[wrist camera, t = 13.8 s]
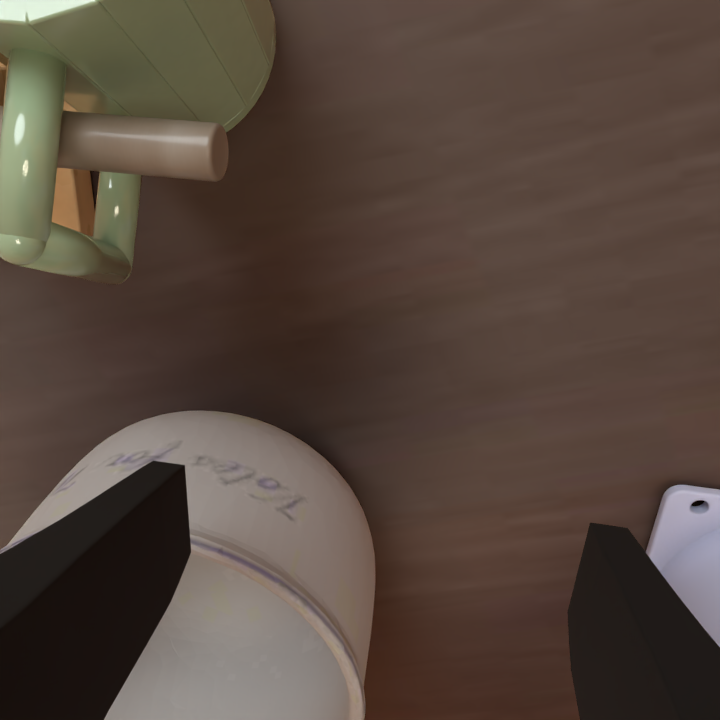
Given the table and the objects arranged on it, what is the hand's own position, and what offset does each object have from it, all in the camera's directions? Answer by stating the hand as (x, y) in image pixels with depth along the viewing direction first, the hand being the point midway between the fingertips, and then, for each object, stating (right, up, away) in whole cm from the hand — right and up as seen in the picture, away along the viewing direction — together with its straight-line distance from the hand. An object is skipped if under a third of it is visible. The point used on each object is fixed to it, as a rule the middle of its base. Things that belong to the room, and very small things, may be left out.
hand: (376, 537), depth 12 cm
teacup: (-6, -2, +13) cm, 14 cm away
